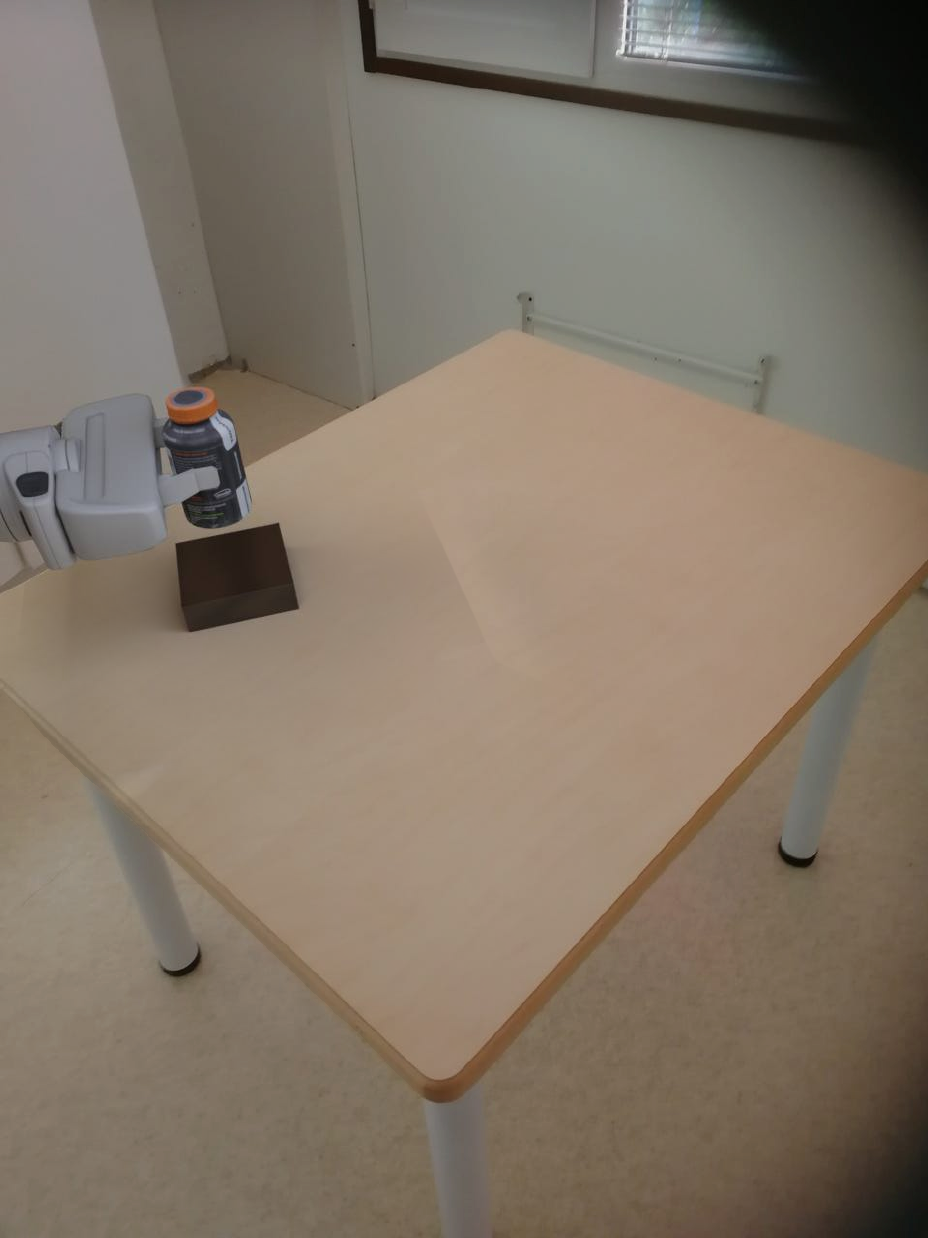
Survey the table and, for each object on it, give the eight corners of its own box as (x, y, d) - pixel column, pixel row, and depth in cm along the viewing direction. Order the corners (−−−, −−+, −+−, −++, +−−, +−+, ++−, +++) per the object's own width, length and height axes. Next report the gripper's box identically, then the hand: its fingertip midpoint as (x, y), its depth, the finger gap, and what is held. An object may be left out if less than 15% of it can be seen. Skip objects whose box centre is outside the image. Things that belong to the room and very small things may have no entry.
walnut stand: (189, 632, 86) (181, 607, 84) (182, 567, 93) (175, 543, 91) (299, 608, 88) (293, 583, 86) (284, 547, 95) (278, 522, 93)
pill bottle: (267, 504, 85) (242, 388, 78) (221, 538, 82) (190, 420, 74) (218, 486, 88) (189, 373, 80) (171, 519, 84) (136, 403, 77)
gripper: (61, 452, 88) (212, 426, 91) (52, 584, 73) (233, 548, 76) (38, 390, 84) (197, 364, 87) (23, 516, 69) (216, 480, 71)
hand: (214, 451), depth 81 cm, fingers closed on pill bottle, 6 cm apart
